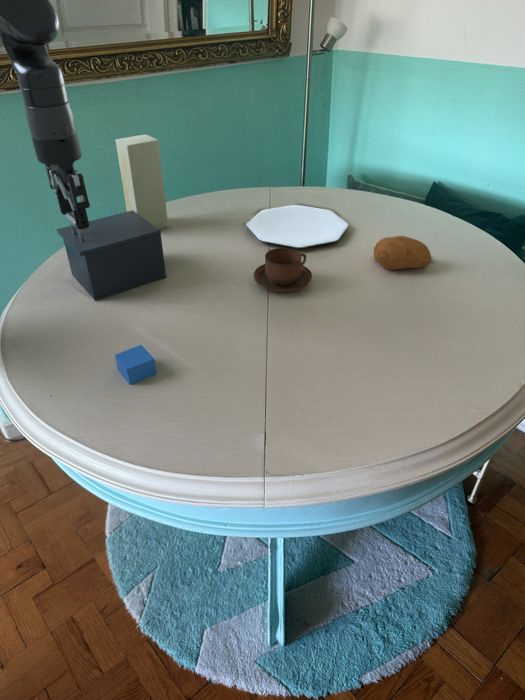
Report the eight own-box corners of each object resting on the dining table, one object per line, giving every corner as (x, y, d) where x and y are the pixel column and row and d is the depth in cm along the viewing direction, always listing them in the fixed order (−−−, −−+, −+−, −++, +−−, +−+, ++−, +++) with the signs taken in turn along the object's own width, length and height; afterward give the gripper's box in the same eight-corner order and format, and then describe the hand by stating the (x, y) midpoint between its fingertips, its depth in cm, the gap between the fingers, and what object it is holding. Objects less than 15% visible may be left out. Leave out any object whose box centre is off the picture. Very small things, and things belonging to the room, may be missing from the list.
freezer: (95, 300, 102) (84, 255, 96) (72, 275, 111) (61, 232, 105) (166, 277, 110) (160, 234, 104) (140, 255, 118) (133, 213, 112)
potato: (366, 262, 115) (372, 230, 112) (421, 263, 117) (428, 233, 114) (376, 273, 109) (382, 240, 106) (433, 275, 111) (441, 243, 107)
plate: (362, 241, 124) (363, 235, 123) (271, 258, 117) (271, 252, 116) (318, 206, 141) (318, 200, 140) (236, 219, 134) (236, 213, 133)
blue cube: (131, 392, 81) (126, 369, 78) (119, 377, 84) (114, 354, 81) (158, 381, 83) (154, 358, 80) (145, 366, 86) (141, 344, 83)
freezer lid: (80, 256, 96) (74, 230, 93) (57, 232, 104) (50, 208, 101) (160, 233, 104) (157, 208, 101) (133, 213, 112) (129, 190, 109)
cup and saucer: (273, 263, 115) (274, 238, 111) (321, 278, 109) (323, 251, 106) (242, 286, 107) (241, 259, 103) (292, 303, 101) (293, 276, 98)
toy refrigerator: (155, 217, 135) (144, 132, 123) (169, 226, 131) (159, 139, 118) (127, 224, 132) (113, 138, 119) (140, 234, 127) (126, 145, 114)
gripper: (19, 126, 92) (43, 213, 102) (44, 144, 82) (68, 238, 92) (61, 119, 95) (80, 204, 105) (90, 136, 86) (108, 228, 96)
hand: (75, 220), depth 99 cm, fingers open, 8 cm apart
